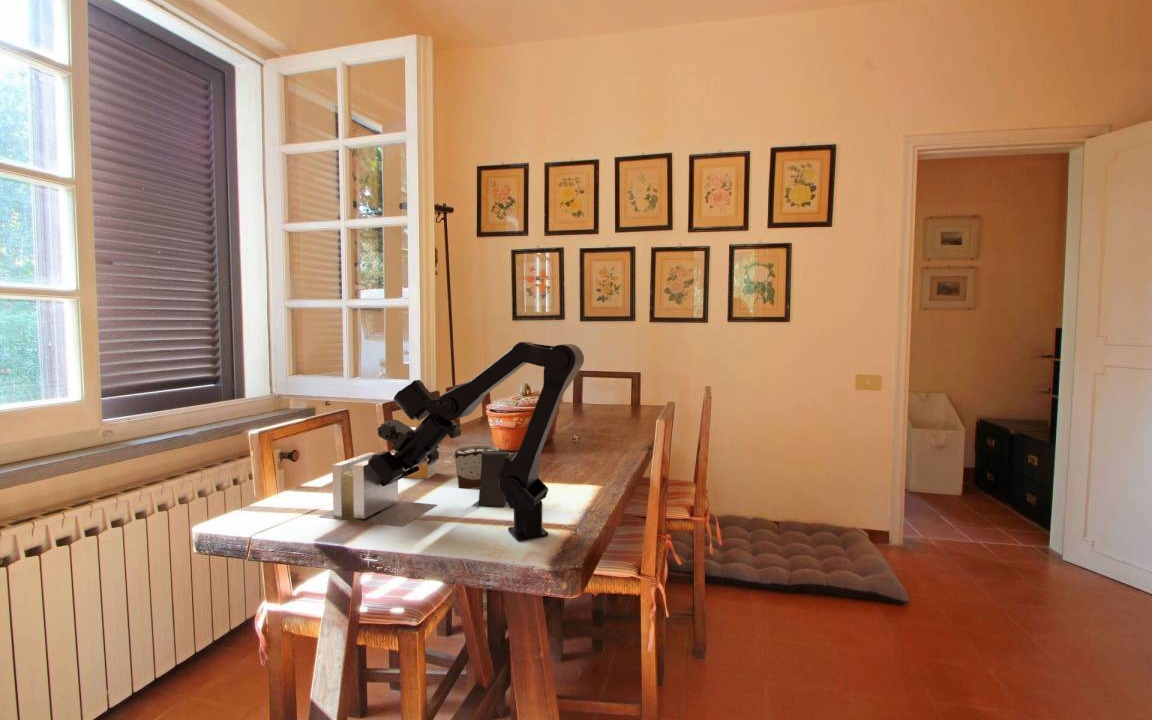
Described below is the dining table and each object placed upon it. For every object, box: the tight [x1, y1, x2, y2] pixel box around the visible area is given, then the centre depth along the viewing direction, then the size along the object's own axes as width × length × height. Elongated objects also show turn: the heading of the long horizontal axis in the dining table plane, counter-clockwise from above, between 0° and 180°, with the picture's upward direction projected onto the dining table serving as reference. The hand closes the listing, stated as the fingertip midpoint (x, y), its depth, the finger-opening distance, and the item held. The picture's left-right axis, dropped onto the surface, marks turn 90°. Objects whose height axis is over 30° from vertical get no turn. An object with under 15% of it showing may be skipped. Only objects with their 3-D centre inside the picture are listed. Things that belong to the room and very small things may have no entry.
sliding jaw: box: [353, 452, 399, 519], centre depth 117 cm, size 2×12×11 cm, turn 165°
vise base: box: [318, 452, 438, 528], centre depth 117 cm, size 20×14×12 cm
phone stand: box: [478, 450, 510, 508], centre depth 129 cm, size 9×6×12 cm, turn 175°
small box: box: [405, 426, 438, 479], centre depth 151 cm, size 8×6×13 cm
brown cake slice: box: [452, 444, 500, 490], centre depth 142 cm, size 12×6×10 cm, turn 108°
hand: (382, 484), depth 117 cm, fingers closed, pressing on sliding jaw
